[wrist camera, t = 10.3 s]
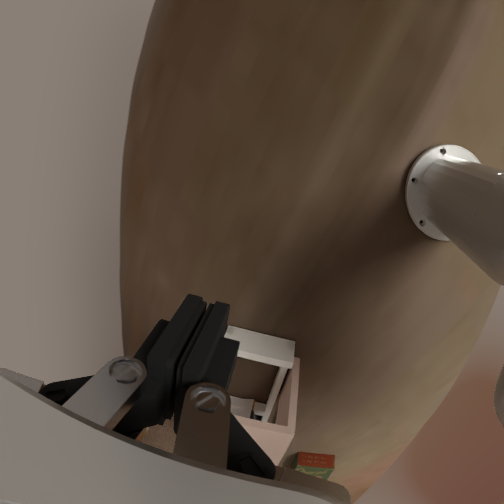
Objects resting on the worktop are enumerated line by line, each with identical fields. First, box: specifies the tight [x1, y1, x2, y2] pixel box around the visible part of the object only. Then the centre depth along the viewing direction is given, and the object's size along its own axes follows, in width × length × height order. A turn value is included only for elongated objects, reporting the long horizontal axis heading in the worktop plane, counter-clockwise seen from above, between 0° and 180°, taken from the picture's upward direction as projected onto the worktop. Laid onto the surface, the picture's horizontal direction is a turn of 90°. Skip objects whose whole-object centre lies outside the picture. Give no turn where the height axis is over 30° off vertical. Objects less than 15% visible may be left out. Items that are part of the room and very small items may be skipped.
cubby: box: [234, 357, 300, 466], centre depth 43 cm, size 14×9×15 cm, turn 79°
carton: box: [291, 452, 335, 480], centre depth 59 cm, size 8×16×4 cm, turn 172°
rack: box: [224, 325, 295, 422], centre depth 50 cm, size 10×26×5 cm, turn 169°
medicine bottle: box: [230, 399, 260, 421], centre depth 49 cm, size 7×7×12 cm
